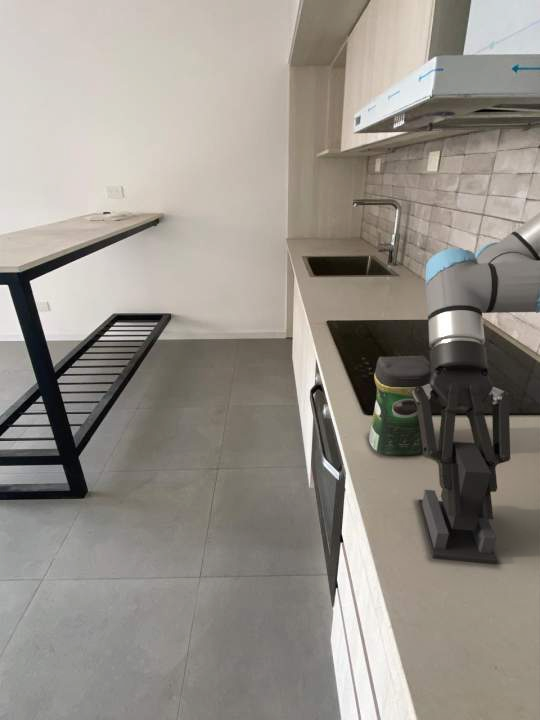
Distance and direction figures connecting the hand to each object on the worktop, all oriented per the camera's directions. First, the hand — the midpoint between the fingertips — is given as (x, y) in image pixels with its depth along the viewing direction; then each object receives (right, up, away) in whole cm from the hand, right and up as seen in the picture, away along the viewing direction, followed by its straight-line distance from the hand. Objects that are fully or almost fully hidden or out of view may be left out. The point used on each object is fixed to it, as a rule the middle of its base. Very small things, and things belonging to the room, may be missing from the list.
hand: (470, 516), depth 51 cm
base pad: (+1, -5, +7) cm, 8 cm away
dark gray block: (+1, -1, +5) cm, 5 cm away
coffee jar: (-2, +4, +25) cm, 26 cm away
